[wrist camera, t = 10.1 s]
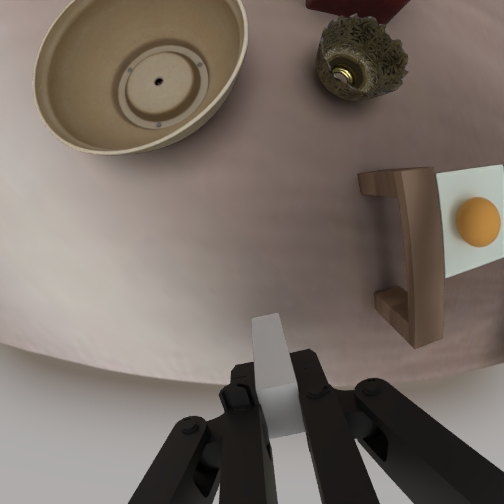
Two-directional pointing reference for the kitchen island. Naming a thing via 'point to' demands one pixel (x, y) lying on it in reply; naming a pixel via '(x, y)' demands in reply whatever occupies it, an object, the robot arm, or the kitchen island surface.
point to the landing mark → (451, 199)
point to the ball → (478, 222)
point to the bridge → (413, 253)
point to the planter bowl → (137, 71)
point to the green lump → (360, 58)
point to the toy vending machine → (360, 8)
